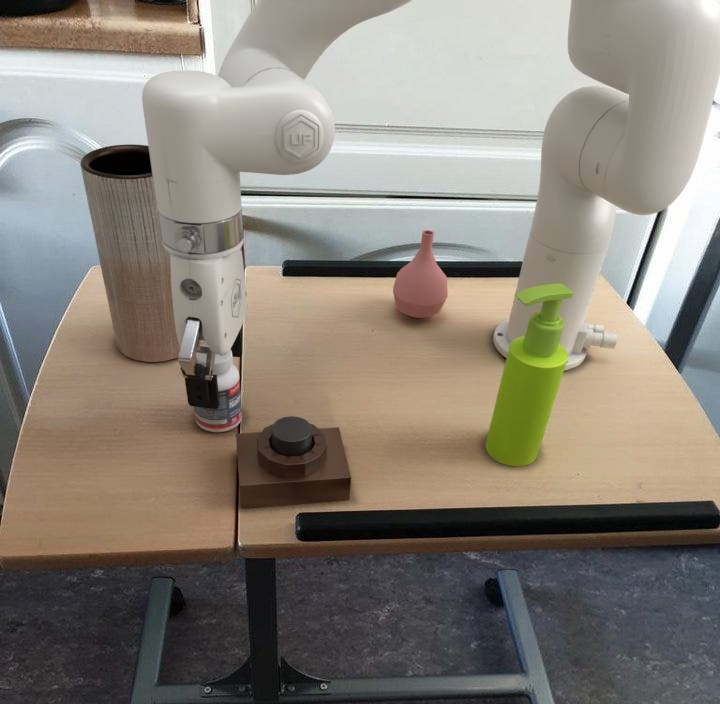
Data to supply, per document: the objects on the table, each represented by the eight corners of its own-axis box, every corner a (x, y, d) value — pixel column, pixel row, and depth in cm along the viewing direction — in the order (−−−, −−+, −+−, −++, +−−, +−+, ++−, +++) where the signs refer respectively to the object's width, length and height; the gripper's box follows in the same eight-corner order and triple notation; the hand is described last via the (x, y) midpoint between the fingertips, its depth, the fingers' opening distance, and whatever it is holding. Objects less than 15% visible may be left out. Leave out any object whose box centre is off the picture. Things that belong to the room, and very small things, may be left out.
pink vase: (385, 322, 98) (393, 239, 90) (396, 296, 104) (404, 216, 96) (439, 332, 97) (453, 249, 89) (447, 305, 103) (461, 225, 95)
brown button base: (337, 449, 78) (339, 413, 74) (349, 500, 72) (352, 464, 69) (237, 456, 76) (234, 419, 73) (241, 508, 70) (238, 472, 67)
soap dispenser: (468, 440, 80) (503, 279, 67) (519, 428, 83) (563, 270, 69) (494, 473, 77) (538, 309, 63) (547, 459, 79) (600, 298, 65)
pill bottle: (238, 435, 79) (233, 369, 72) (191, 432, 78) (183, 365, 72) (245, 406, 82) (241, 341, 76) (200, 403, 82) (193, 338, 76)
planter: (198, 360, 88) (177, 176, 73) (115, 365, 87) (75, 177, 71) (195, 319, 96) (175, 143, 80) (118, 323, 94) (83, 143, 78)
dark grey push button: (309, 430, 73) (309, 414, 71) (314, 456, 70) (314, 440, 68) (270, 432, 72) (269, 417, 71) (273, 458, 69) (273, 442, 68)
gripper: (216, 274, 58) (230, 433, 70) (262, 195, 71) (267, 341, 83) (128, 264, 59) (157, 424, 71) (189, 187, 71) (205, 333, 83)
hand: (216, 379), depth 77 cm, fingers open, 9 cm apart
